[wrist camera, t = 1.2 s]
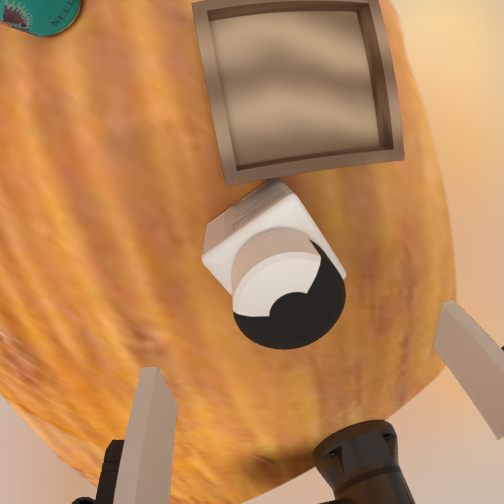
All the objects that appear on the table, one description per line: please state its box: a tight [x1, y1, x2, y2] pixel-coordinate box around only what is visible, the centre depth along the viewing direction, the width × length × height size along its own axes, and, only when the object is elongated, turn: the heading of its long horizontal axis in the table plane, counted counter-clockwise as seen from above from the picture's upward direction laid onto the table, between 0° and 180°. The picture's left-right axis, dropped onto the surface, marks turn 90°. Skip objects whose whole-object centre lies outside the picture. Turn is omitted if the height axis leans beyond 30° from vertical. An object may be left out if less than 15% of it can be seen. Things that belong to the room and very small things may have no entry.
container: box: [201, 177, 346, 350], centre depth 23 cm, size 8×8×13 cm
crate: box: [192, 0, 404, 187], centre depth 22 cm, size 15×15×4 cm
